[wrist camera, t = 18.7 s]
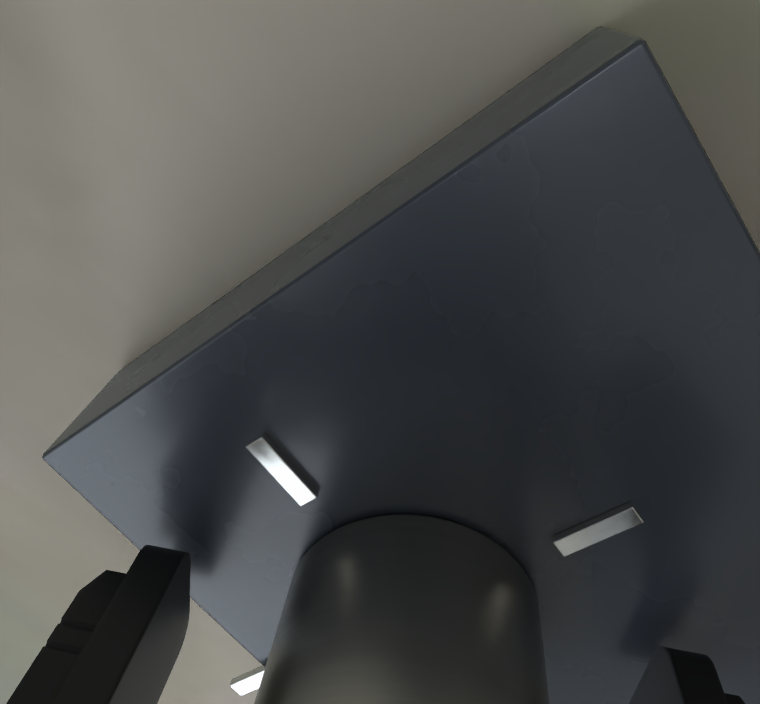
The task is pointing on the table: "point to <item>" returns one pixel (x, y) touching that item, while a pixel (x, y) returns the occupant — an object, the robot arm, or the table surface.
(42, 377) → the table surface
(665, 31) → the table surface
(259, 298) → the hob panel
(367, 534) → the hob knob
